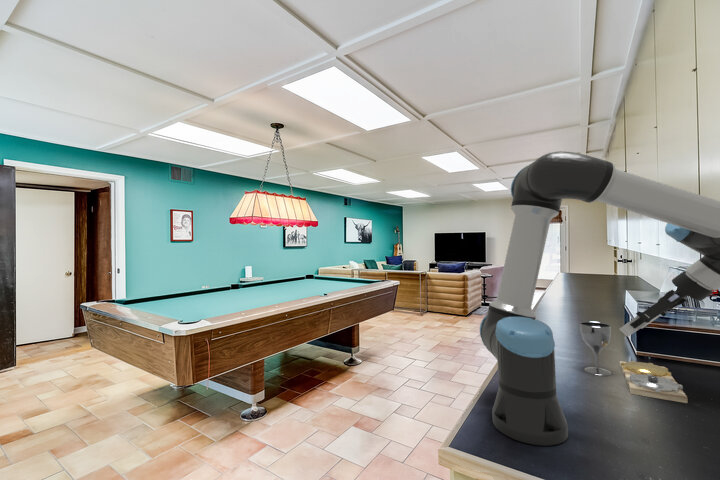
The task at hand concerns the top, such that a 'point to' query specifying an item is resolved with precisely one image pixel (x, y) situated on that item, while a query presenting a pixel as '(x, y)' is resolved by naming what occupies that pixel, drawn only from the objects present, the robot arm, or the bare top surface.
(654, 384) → the gear board
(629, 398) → the top surface
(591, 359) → the top surface
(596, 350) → the wine glass
